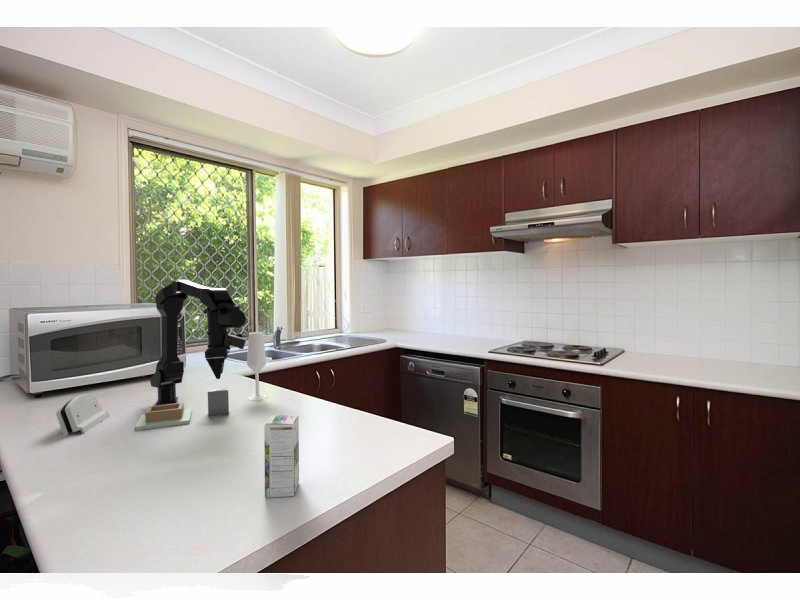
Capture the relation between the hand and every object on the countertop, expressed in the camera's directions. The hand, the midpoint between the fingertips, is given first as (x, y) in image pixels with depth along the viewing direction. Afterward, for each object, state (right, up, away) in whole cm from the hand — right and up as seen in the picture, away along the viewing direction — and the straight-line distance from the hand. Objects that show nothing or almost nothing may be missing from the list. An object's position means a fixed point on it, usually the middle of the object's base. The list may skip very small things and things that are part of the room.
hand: (219, 376), depth 133 cm
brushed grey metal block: (0, -12, 0) cm, 12 cm away
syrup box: (+35, -14, -50) cm, 63 cm away
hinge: (-37, -14, -9) cm, 40 cm away
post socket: (-14, -13, -5) cm, 20 cm away
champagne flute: (+6, -12, +19) cm, 23 cm away
